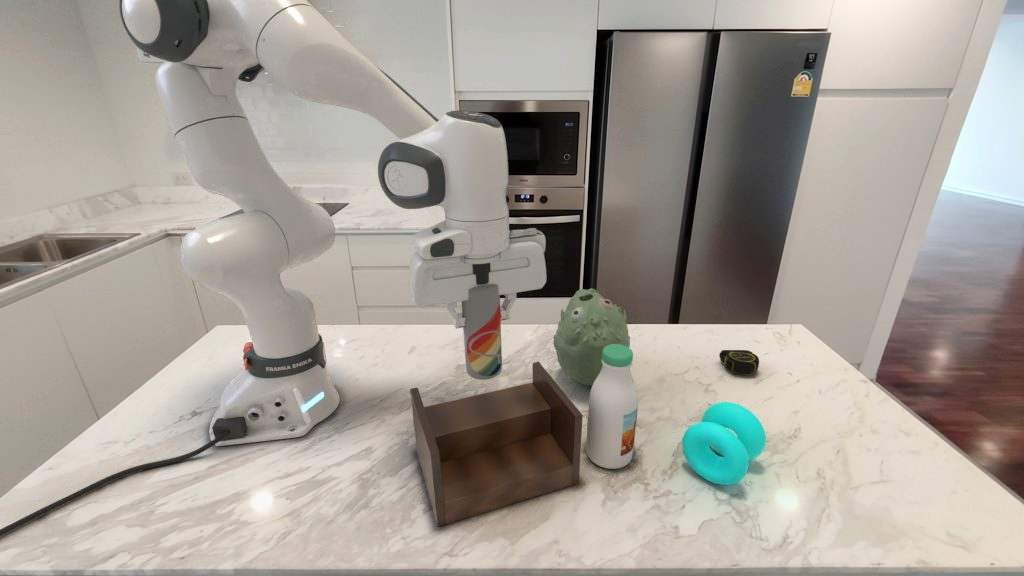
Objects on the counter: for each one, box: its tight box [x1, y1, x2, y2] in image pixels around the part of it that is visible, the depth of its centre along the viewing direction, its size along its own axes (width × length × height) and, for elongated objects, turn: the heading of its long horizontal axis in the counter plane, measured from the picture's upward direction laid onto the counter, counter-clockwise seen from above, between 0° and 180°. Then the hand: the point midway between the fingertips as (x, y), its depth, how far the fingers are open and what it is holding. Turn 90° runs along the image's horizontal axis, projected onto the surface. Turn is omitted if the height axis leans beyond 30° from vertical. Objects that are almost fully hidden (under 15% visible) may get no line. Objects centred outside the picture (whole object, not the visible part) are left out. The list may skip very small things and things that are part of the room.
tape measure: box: [718, 349, 760, 376], centre depth 104 cm, size 7×7×4 cm
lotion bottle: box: [460, 263, 503, 381], centre depth 72 cm, size 6×6×20 cm
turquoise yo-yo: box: [681, 401, 767, 486], centre depth 76 cm, size 10×10×10 cm
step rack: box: [409, 361, 583, 527], centre depth 76 cm, size 22×16×13 cm
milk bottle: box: [585, 344, 639, 470], centre depth 77 cm, size 8×8×20 cm
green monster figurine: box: [553, 288, 631, 386], centre depth 98 cm, size 16×19×20 cm
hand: (481, 322), depth 73 cm, fingers closed on lotion bottle, 5 cm apart
